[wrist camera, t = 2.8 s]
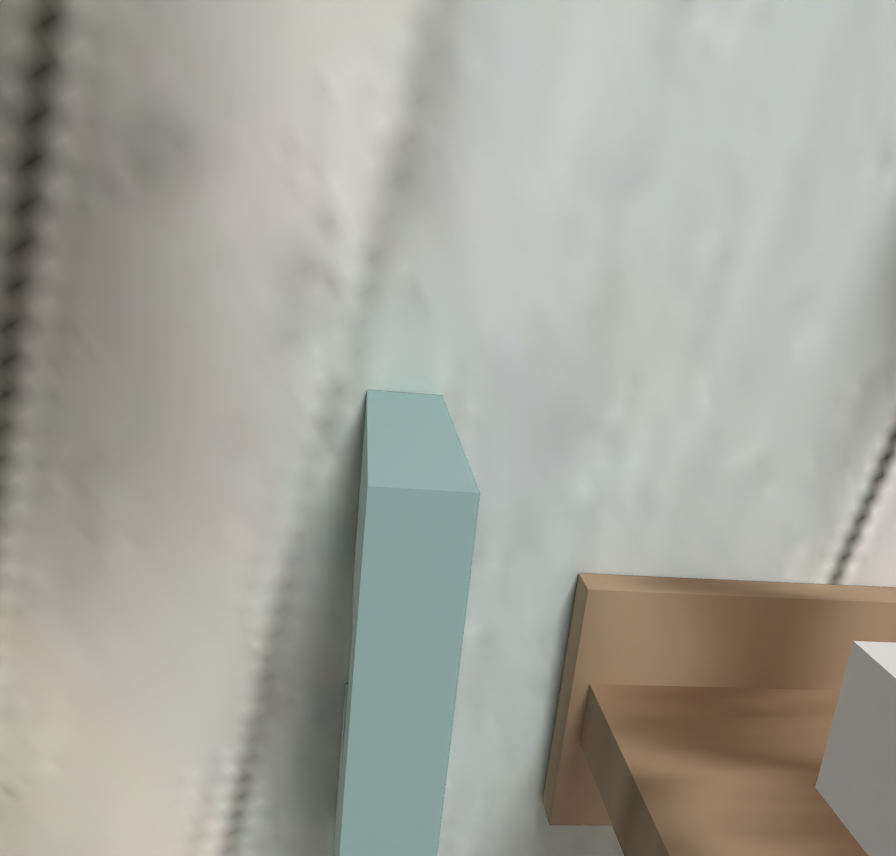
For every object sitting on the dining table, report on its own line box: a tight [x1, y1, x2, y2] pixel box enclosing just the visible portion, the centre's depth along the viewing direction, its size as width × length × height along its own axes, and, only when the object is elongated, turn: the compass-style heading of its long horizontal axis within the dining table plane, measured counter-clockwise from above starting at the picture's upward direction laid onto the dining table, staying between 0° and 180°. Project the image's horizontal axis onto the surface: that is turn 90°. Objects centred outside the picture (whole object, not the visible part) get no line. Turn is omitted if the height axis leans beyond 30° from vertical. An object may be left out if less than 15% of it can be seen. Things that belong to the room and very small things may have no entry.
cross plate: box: [333, 390, 480, 856], centre depth 19 cm, size 14×2×7 cm, turn 174°
